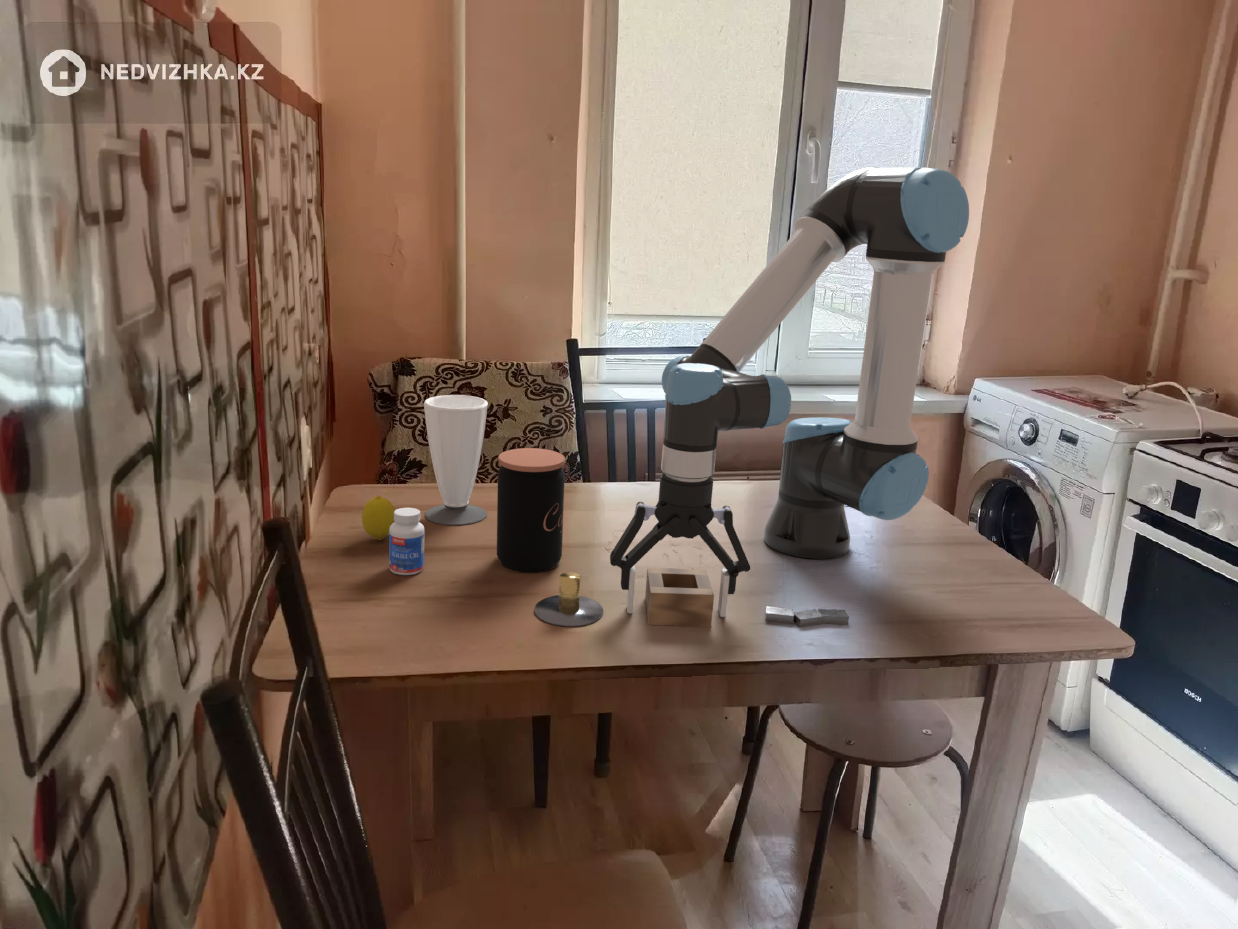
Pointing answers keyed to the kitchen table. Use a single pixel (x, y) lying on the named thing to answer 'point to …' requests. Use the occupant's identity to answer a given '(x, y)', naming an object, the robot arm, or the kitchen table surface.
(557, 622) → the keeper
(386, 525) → the lemon
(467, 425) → the cup
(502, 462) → the coffee jar
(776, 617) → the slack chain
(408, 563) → the pill bottle
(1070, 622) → the kitchen table surface
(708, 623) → the square wooden ring block
